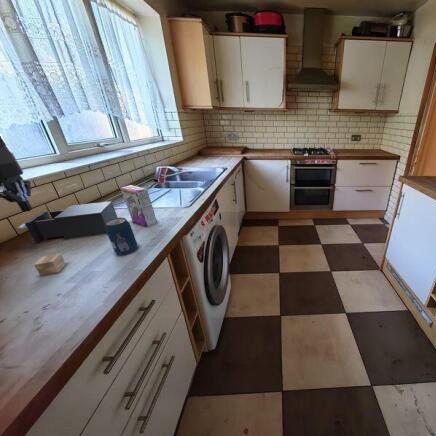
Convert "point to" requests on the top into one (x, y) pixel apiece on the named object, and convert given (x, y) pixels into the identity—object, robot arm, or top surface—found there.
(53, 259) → the block
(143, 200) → the candy bar box
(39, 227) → the dark grey drawer
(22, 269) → the top surface
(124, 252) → the soda can
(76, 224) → the low dark rectangular box
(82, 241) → the top surface
